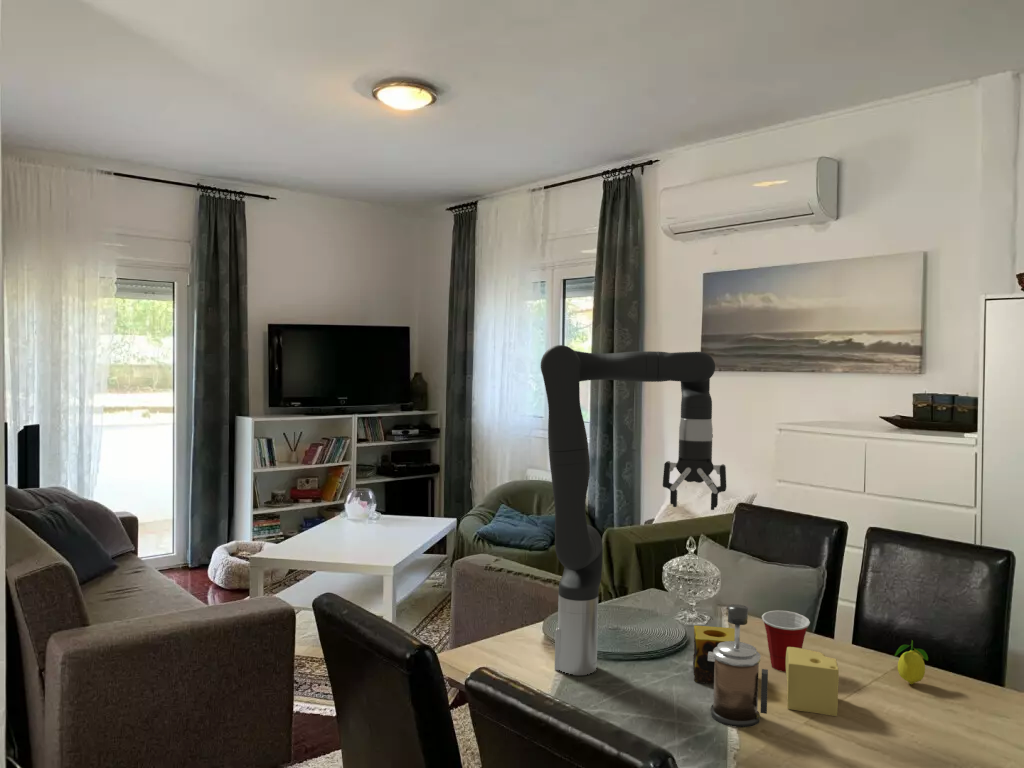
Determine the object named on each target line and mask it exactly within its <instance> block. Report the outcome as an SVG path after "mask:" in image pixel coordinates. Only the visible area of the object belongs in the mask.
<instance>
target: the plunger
mask: <svg viewBox="0 0 1024 768" xmlns="http://www.w3.org/2000/svg"><path fill="white" fill-rule="evenodd" d="M727 609H728V610H727V622H728V623H729V624H731V625H734V629H735V641H725V642H721V643H719V644H718V646H717V649H718V651H719V652H720V653H722V654H725V655H728V656H731V657H738V658H748V657H753V656H755V655H756V651H757V647H755V646H754V645H751V644H749V643H746V642H743V641H741V639H740V638H741V637H740V636H741V626H745V625H747V624H748V620H749V619H748V615H749V614H748V613H749V612H748V609H749V607H747V605H742V604H739V603H738V604H737V603H735V604H733V603H732V604H728V605H727Z"/></svg>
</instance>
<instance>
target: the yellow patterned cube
mask: <svg viewBox="0 0 1024 768" xmlns="http://www.w3.org/2000/svg"><path fill="white" fill-rule="evenodd" d="M725 641H735V628H733V627H723V626H722V627H719V626H707V625H705V626H704V625H697V624H696V625H694V626H693V643H694V644H693V655H692V659H693V660H692V661H693V662H692V664H693V665H692V666H693V667H692V669H693V676H694V677H693V681H694V682H696V683H700V684H707V685H708V684H711V685H714V664H715V662H713V661H708V652H713V650H714V648H715V647H717V646H718V644H719V643H721V642H725Z"/></svg>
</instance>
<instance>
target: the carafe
mask: <svg viewBox="0 0 1024 768" xmlns="http://www.w3.org/2000/svg"><path fill="white" fill-rule="evenodd" d="M761 657H762V655H761V654H760V652H759V651H757V650H756V655H755V656H753V657H748V658H738V657H731V656H728V655H725V654H722V653H720V652H719V651H718V649H717V647H715V648H714V650H713V652H708V661H713V662H715V664H714V684H713V703H712V705H711V707H710V716H711V718H713V720H715V721H716V722H718V723H720V724H721V725H722V724H723V725H726V726H730V727H733V728H734V727H735V728H751V727H754V726H757V725H759V723H760V720H761V714H765V715H767V714H768V711H767V710H768V690H769V689H768V687H769V686H768V684H769V683H768V682H769V680H768V679H769V669H766V668H765V669H764V668H761V676H760V677H761V680H760V681H761V683H760V712H759V710H758V707H759V705H758V704H759V702H758V701H759V700H758V699H759V672H760V671H759V670H760V667H759V665H760V663H761Z"/></svg>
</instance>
